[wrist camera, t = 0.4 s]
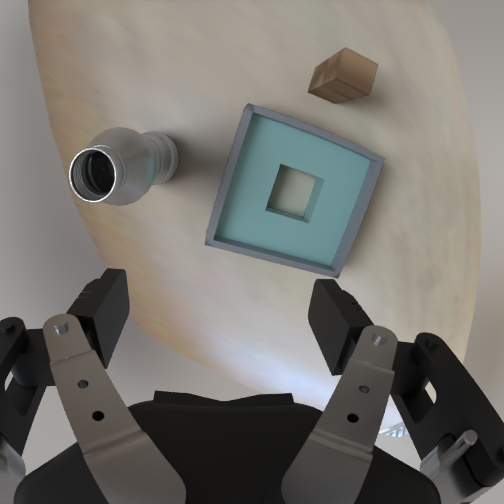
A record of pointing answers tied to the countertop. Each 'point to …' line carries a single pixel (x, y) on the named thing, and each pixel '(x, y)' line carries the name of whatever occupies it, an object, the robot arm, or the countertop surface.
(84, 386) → the robot arm
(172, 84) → the countertop surface
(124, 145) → the plastic bottle
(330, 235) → the box
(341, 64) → the peg
